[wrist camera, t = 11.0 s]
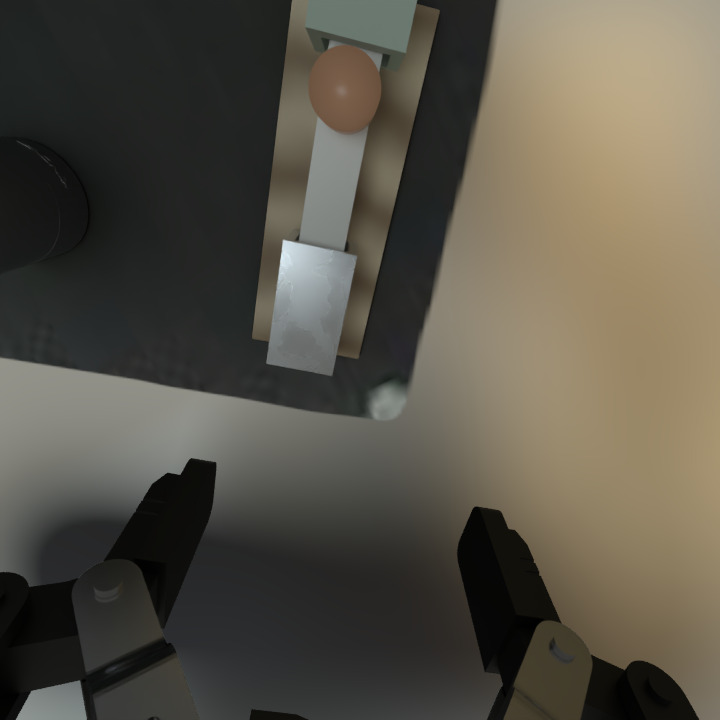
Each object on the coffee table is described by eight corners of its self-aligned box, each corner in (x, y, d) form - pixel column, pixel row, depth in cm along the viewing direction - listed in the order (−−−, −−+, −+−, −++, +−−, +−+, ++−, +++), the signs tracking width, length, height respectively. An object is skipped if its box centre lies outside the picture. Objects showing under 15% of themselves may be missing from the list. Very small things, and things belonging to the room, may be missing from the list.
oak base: (358, 354, 42) (358, 358, 41) (254, 334, 41) (251, 338, 40) (437, 14, 31) (439, 10, 30) (297, -24, 30) (295, -29, 29)
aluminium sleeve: (335, 349, 41) (331, 375, 36) (277, 338, 40) (266, 363, 35) (357, 242, 37) (357, 255, 32) (293, 228, 36) (283, 239, 31)
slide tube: (344, 266, 37) (340, 295, 29) (296, 256, 36) (280, 282, 29) (393, 20, 30) (405, -27, 22) (335, 4, 29) (326, -49, 22)
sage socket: (397, 72, 32) (405, 53, 26) (315, 51, 31) (305, 26, 25) (410, 9, 30) (422, -26, 24) (324, -14, 30) (315, -56, 24)
